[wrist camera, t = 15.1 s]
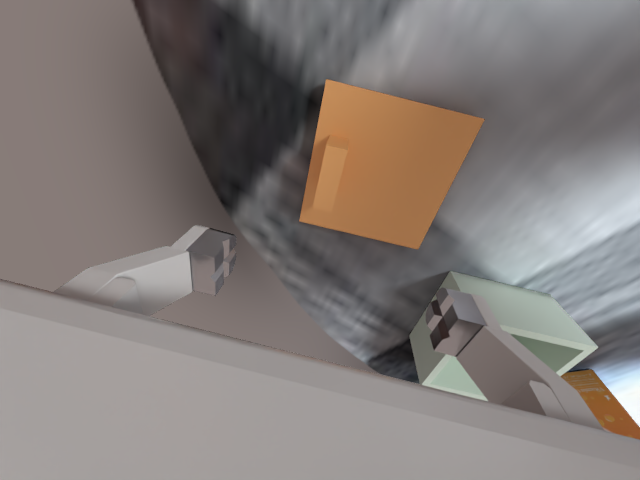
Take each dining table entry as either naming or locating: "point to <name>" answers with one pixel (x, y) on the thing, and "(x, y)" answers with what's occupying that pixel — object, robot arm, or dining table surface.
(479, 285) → the tub
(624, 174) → the dining table surface
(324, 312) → the dining table surface
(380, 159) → the lid
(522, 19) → the dining table surface
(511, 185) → the dining table surface
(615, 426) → the small box
